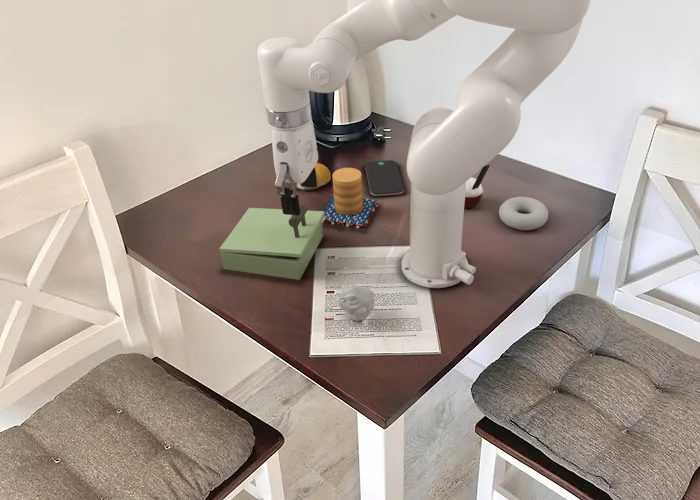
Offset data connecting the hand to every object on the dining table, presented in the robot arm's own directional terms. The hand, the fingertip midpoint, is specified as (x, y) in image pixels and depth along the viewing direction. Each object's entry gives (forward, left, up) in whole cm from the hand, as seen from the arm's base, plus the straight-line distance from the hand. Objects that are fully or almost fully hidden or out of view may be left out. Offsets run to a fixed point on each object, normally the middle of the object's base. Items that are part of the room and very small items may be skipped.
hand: (300, 199), depth 122 cm
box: (+6, +3, -14) cm, 15 cm away
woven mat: (+5, -17, -14) cm, 22 cm away
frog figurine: (-19, +5, -14) cm, 24 cm away
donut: (-23, -40, -14) cm, 48 cm away
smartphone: (+10, -33, -14) cm, 37 cm away
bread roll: (+22, -21, -14) cm, 33 cm away
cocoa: (-11, -37, -14) cm, 41 cm away
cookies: (+5, -17, -12) cm, 21 cm away
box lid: (+5, +3, -8) cm, 10 cm away
